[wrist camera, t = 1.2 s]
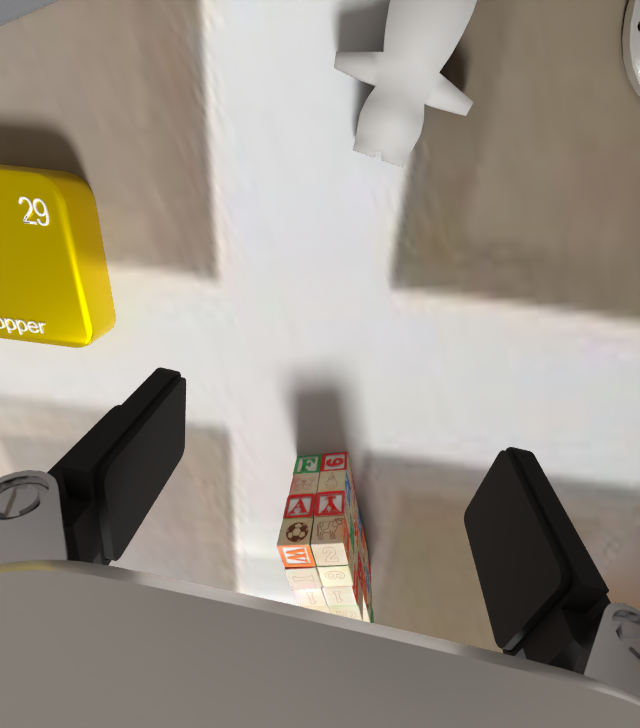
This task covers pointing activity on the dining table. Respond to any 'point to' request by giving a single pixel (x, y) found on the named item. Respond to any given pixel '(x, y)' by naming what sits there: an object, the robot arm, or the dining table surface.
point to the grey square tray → (19, 8)
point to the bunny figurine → (407, 75)
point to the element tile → (51, 259)
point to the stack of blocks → (326, 539)
